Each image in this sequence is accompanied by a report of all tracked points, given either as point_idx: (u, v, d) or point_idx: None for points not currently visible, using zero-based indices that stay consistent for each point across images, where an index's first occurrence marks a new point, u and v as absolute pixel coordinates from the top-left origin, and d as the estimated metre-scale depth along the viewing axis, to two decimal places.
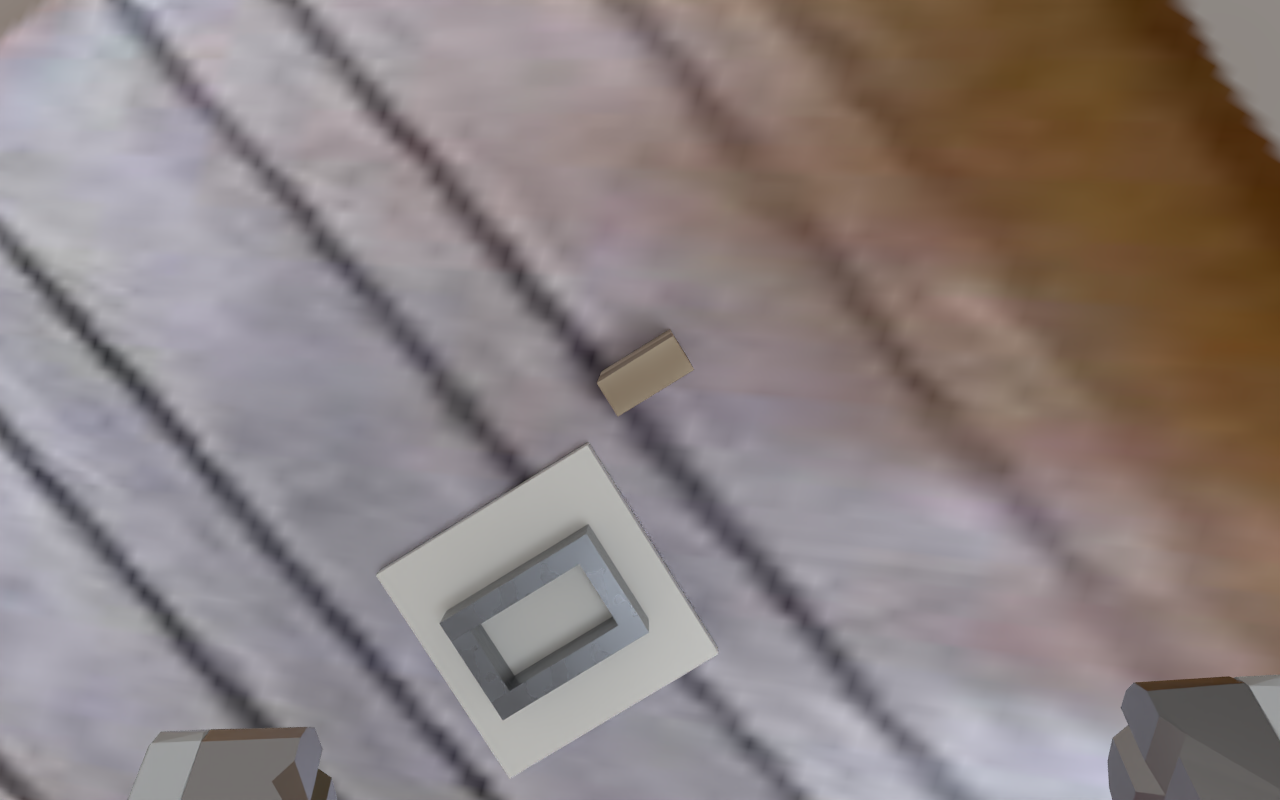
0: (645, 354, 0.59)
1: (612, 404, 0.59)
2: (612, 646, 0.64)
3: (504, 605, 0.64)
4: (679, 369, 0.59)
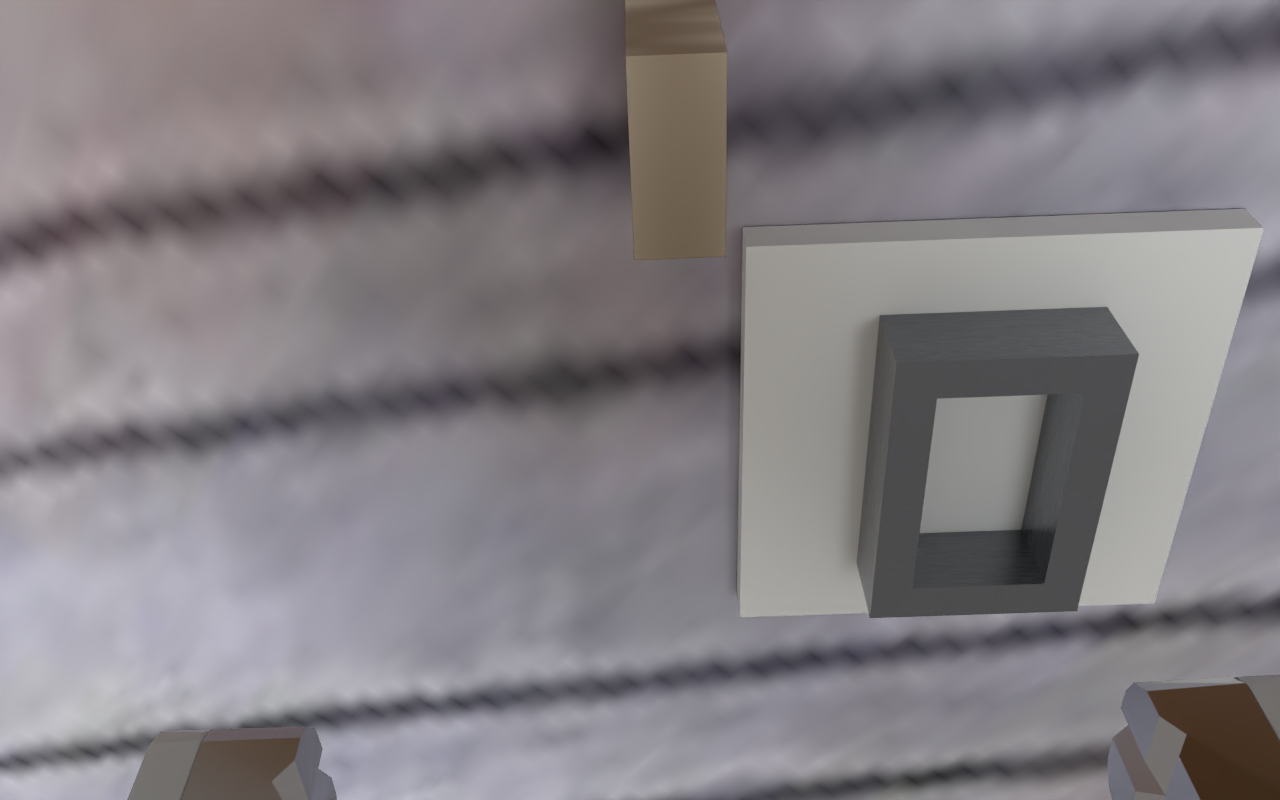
0: (632, 137, 0.24)
1: (695, 254, 0.26)
2: (1109, 419, 0.32)
3: (913, 529, 0.35)
4: (705, 83, 0.24)
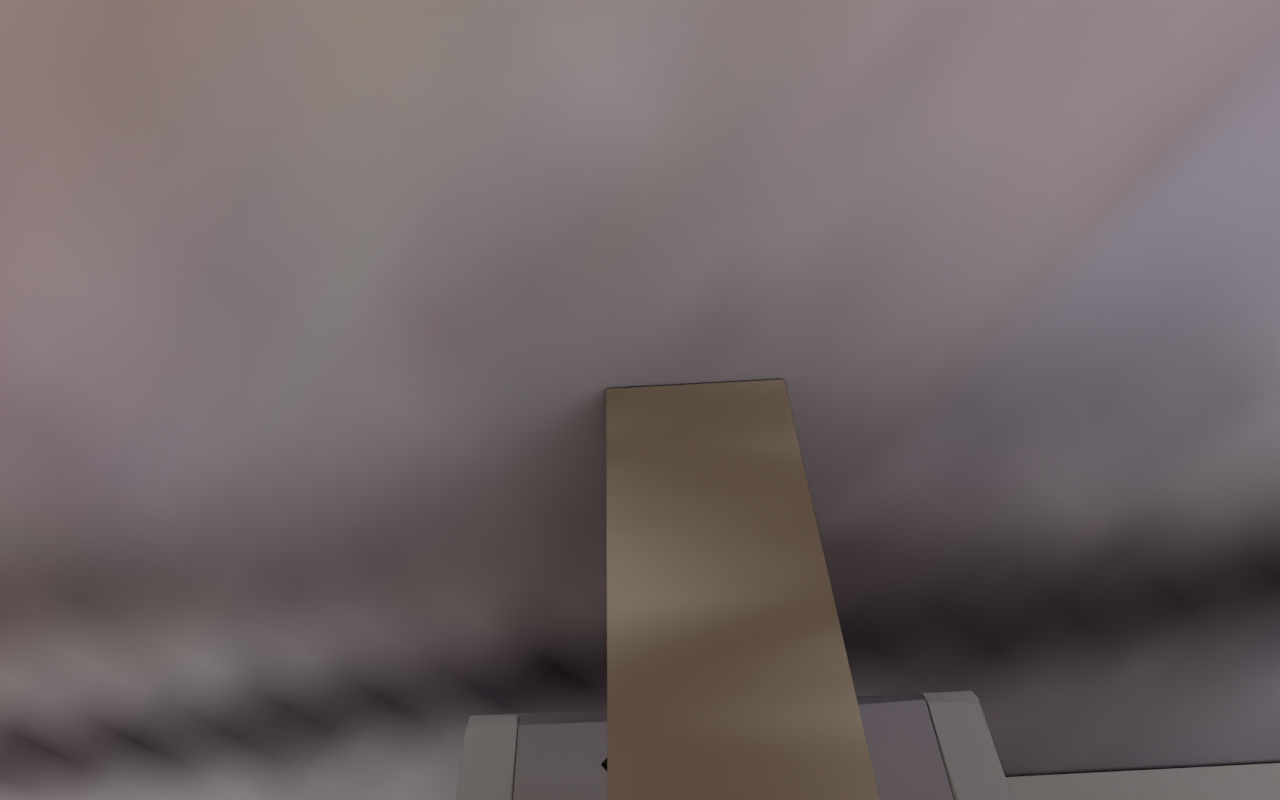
0: None
1: None
2: None
3: None
4: None
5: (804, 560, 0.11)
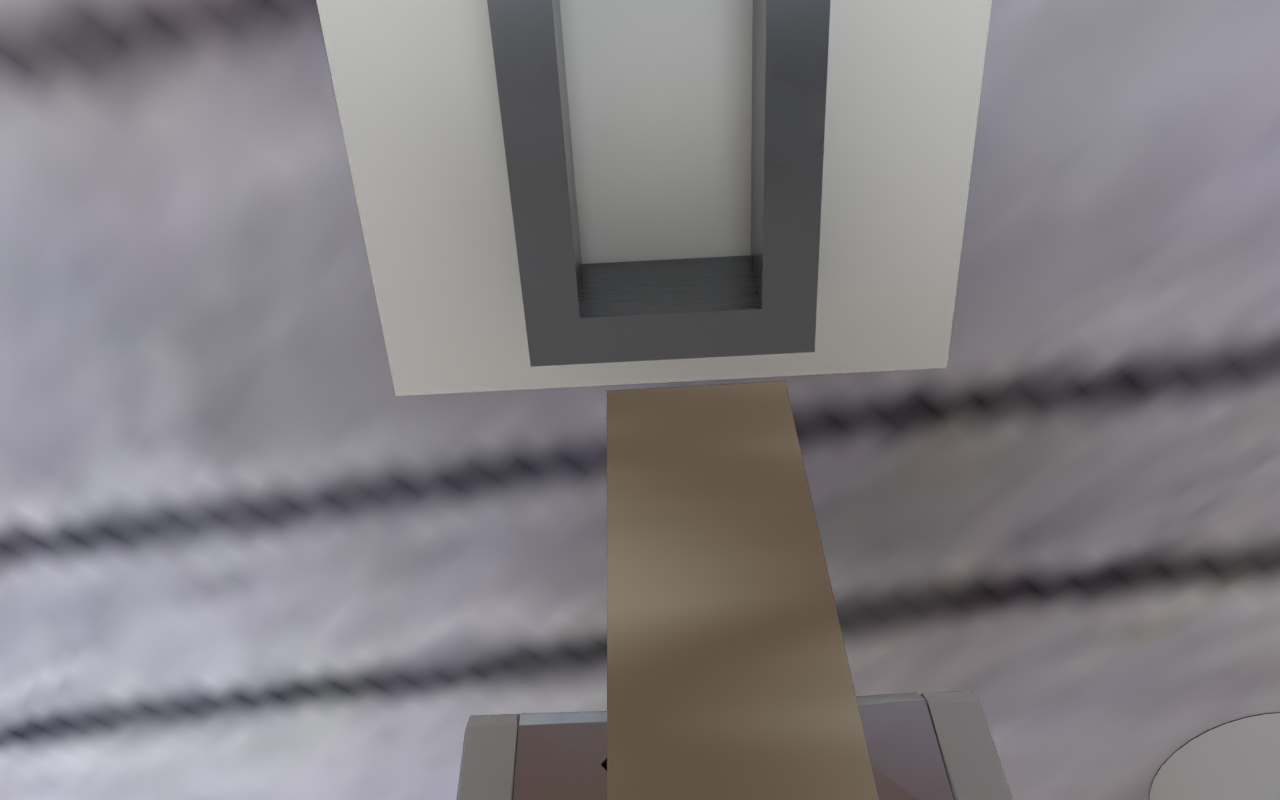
0: None
1: None
2: (809, 28, 0.22)
3: (562, 221, 0.25)
4: None
5: (805, 562, 0.11)
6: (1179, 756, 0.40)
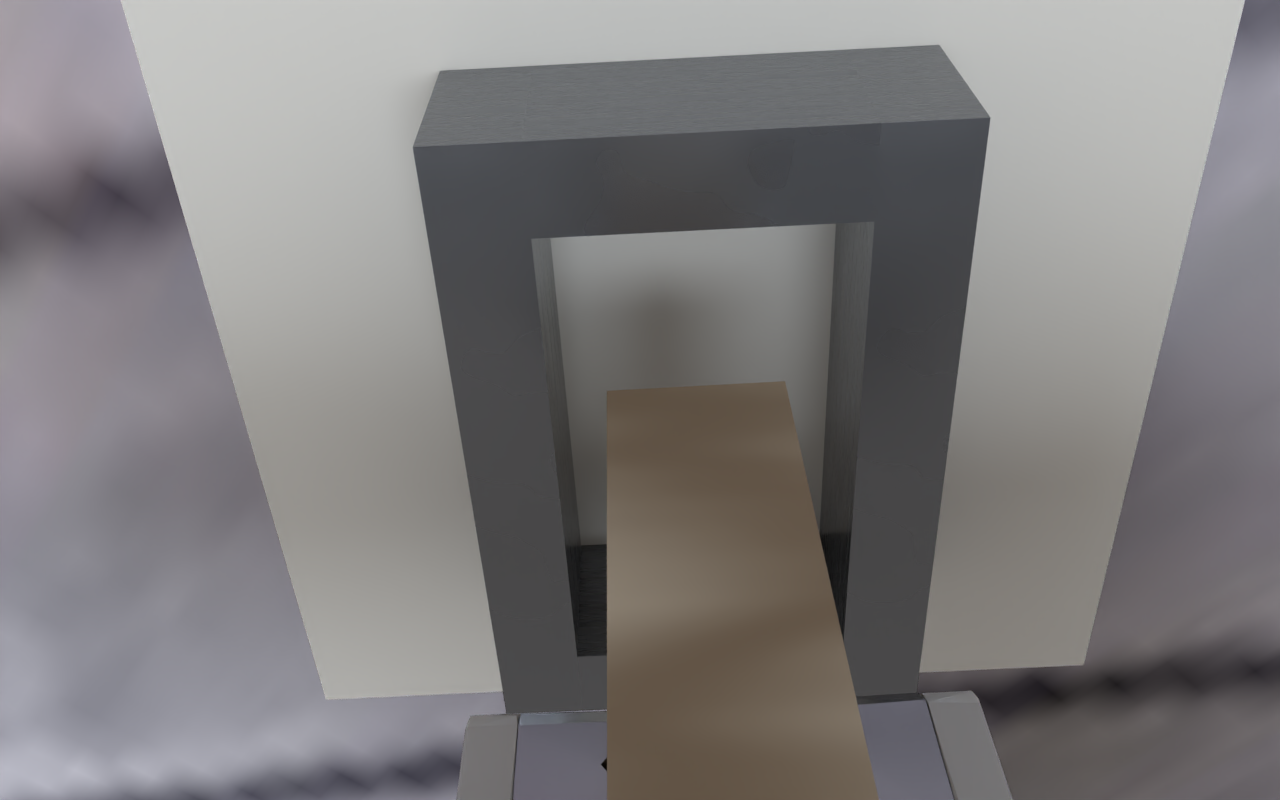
0: None
1: None
2: (937, 286, 0.14)
3: (550, 540, 0.16)
4: None
5: (805, 563, 0.11)
6: None
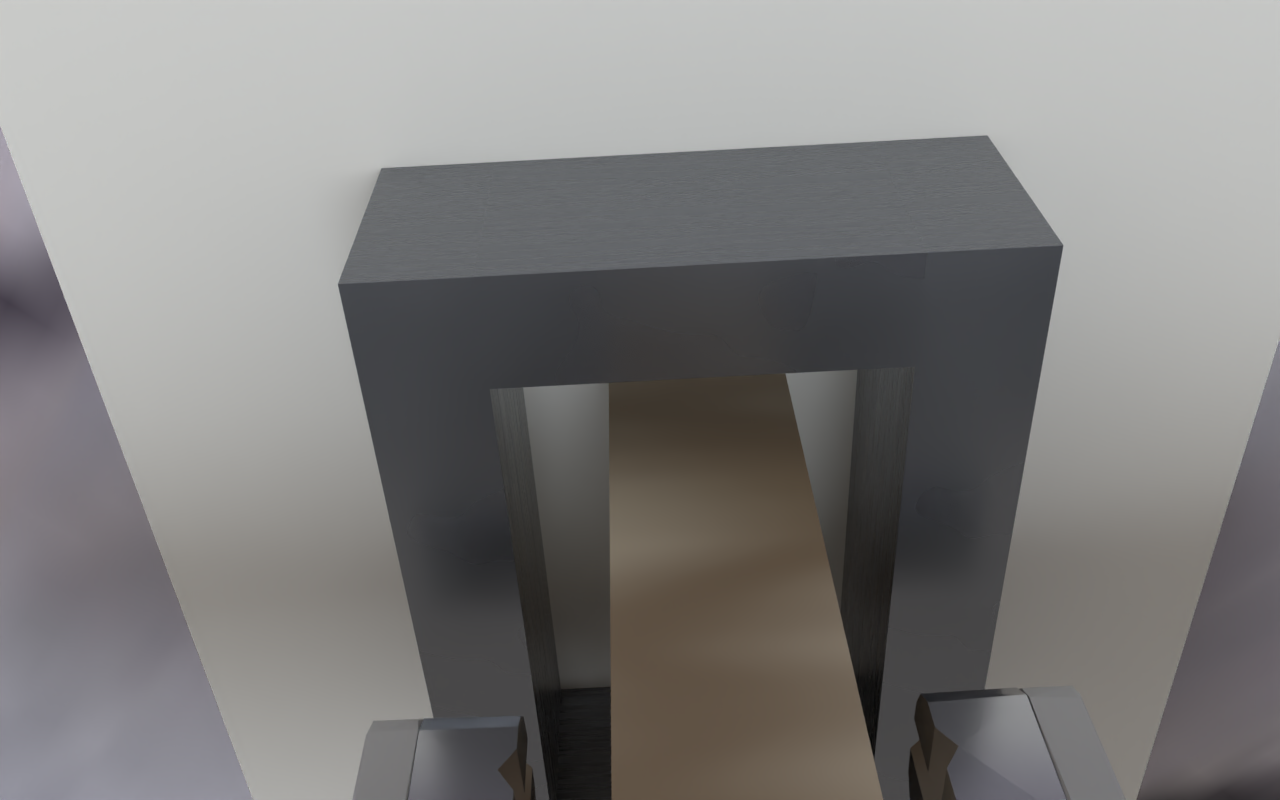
0: None
1: None
2: (991, 439, 0.12)
3: None
4: None
5: (796, 507, 0.11)
6: None
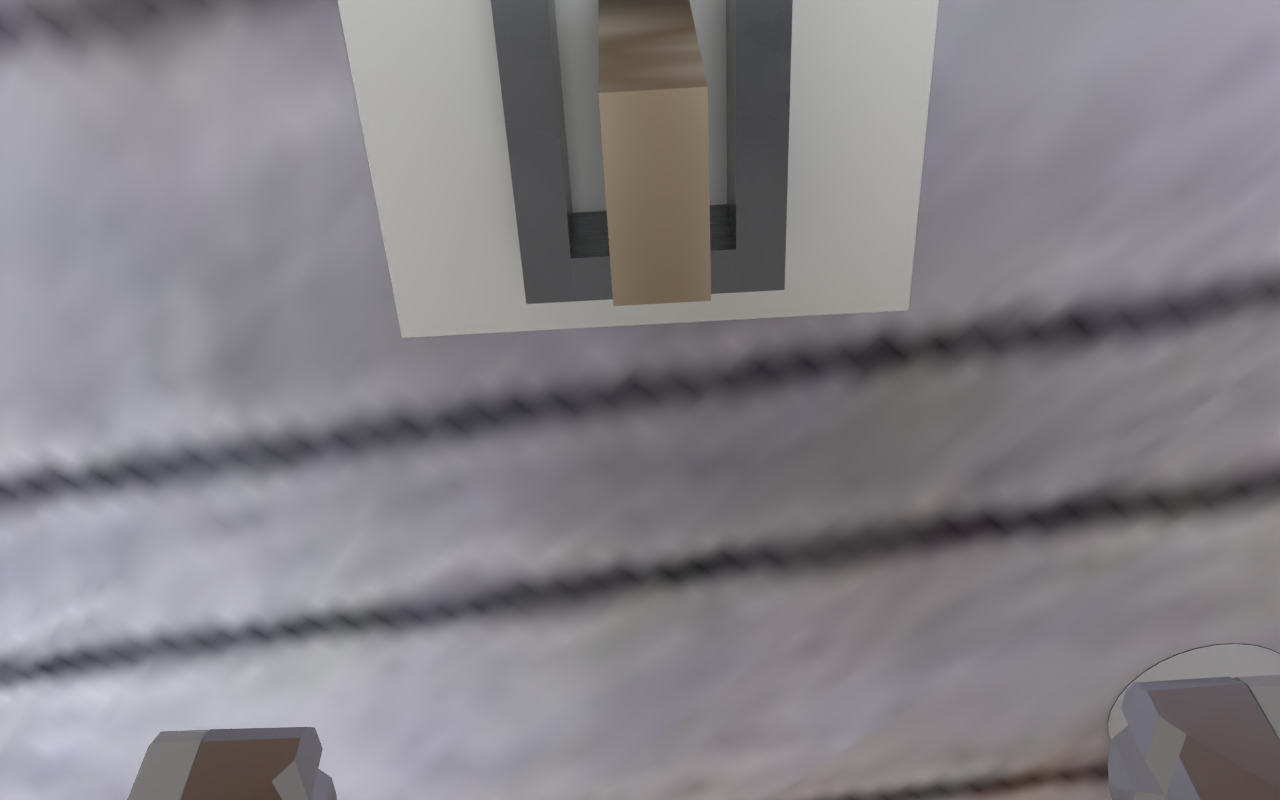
0: (607, 177, 0.22)
1: (678, 298, 0.24)
2: None
3: (554, 168, 0.27)
4: (685, 119, 0.22)
5: (684, 19, 0.25)
6: None
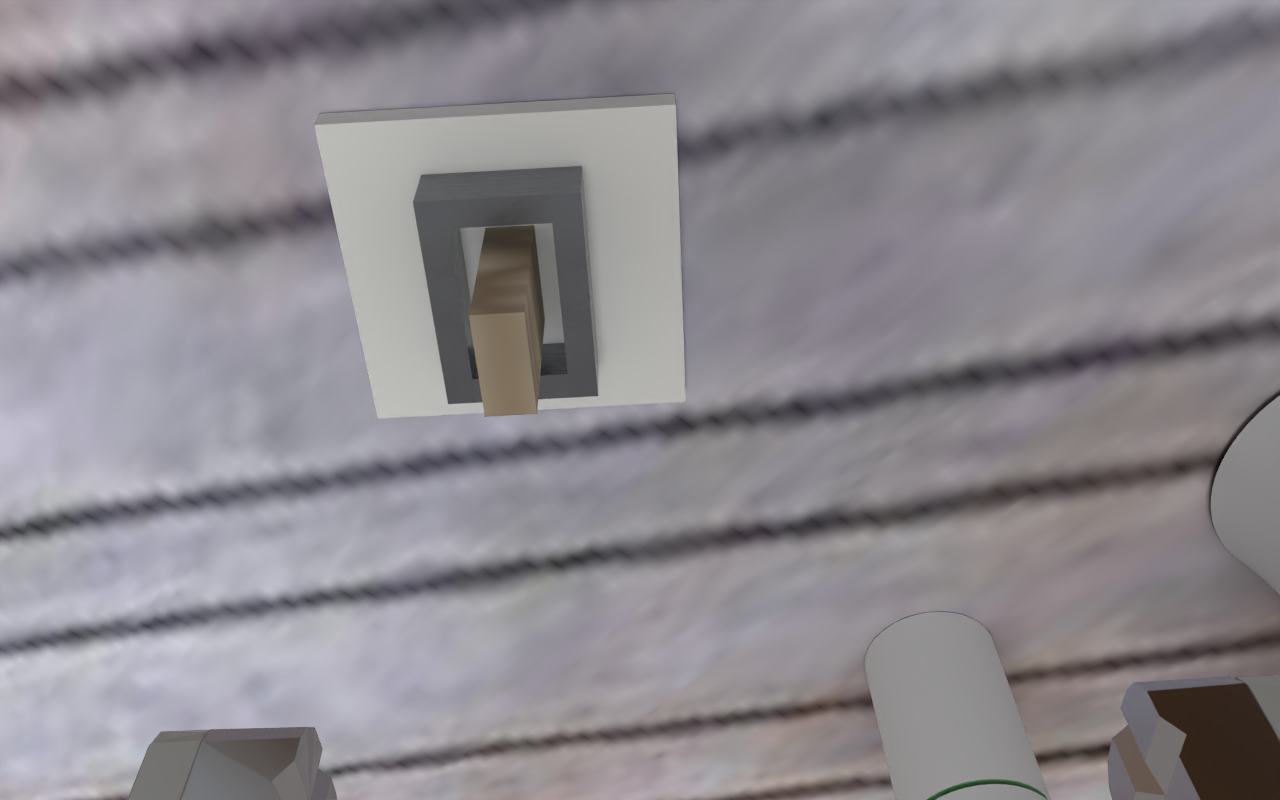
0: (476, 354, 0.43)
1: (519, 412, 0.45)
2: (575, 243, 0.46)
3: (460, 331, 0.48)
4: (514, 327, 0.43)
5: (525, 259, 0.46)
6: (876, 640, 0.64)
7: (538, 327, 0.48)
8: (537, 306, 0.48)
